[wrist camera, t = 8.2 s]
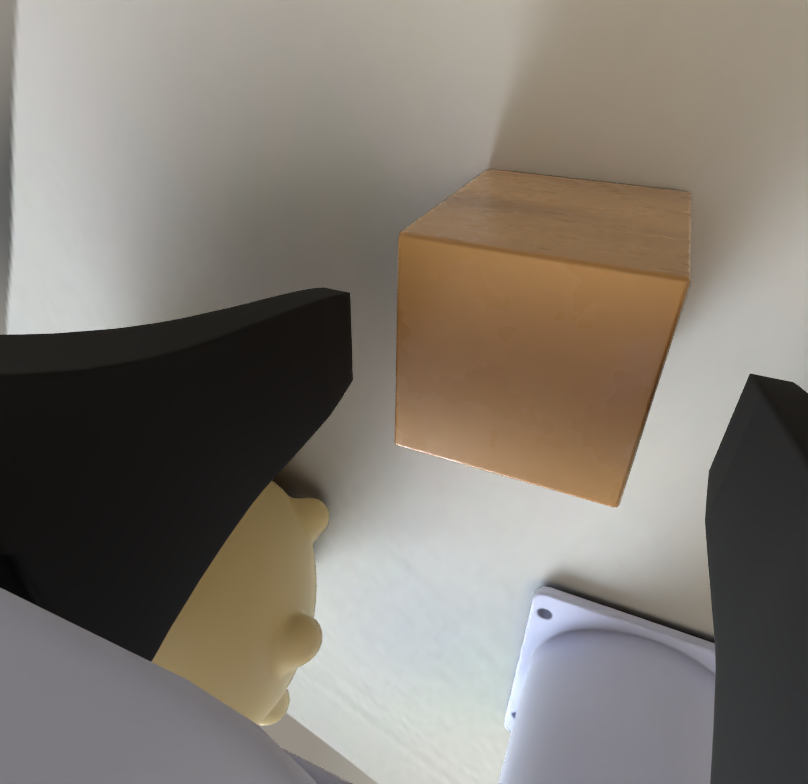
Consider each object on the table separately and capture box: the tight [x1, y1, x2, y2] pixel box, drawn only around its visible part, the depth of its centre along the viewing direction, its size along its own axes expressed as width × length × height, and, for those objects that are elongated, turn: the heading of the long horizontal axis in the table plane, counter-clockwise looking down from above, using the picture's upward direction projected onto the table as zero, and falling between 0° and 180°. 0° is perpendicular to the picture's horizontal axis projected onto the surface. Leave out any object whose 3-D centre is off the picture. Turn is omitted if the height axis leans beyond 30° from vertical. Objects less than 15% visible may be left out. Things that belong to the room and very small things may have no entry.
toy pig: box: [152, 481, 329, 725], centre depth 21 cm, size 10×12×11 cm
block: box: [395, 169, 691, 507], centre depth 12 cm, size 5×5×5 cm
